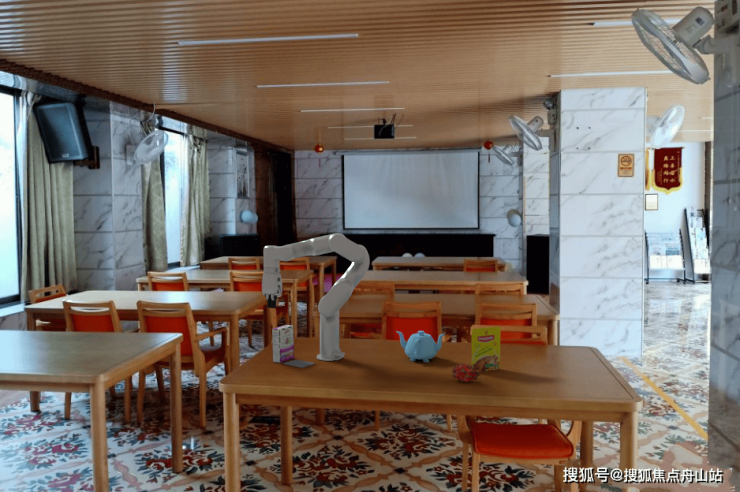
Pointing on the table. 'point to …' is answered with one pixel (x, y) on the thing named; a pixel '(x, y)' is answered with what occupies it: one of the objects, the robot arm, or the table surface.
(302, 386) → the table surface
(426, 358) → the teapot
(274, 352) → the candy bar box
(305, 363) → the mat
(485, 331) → the food package
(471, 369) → the dragon fruit
